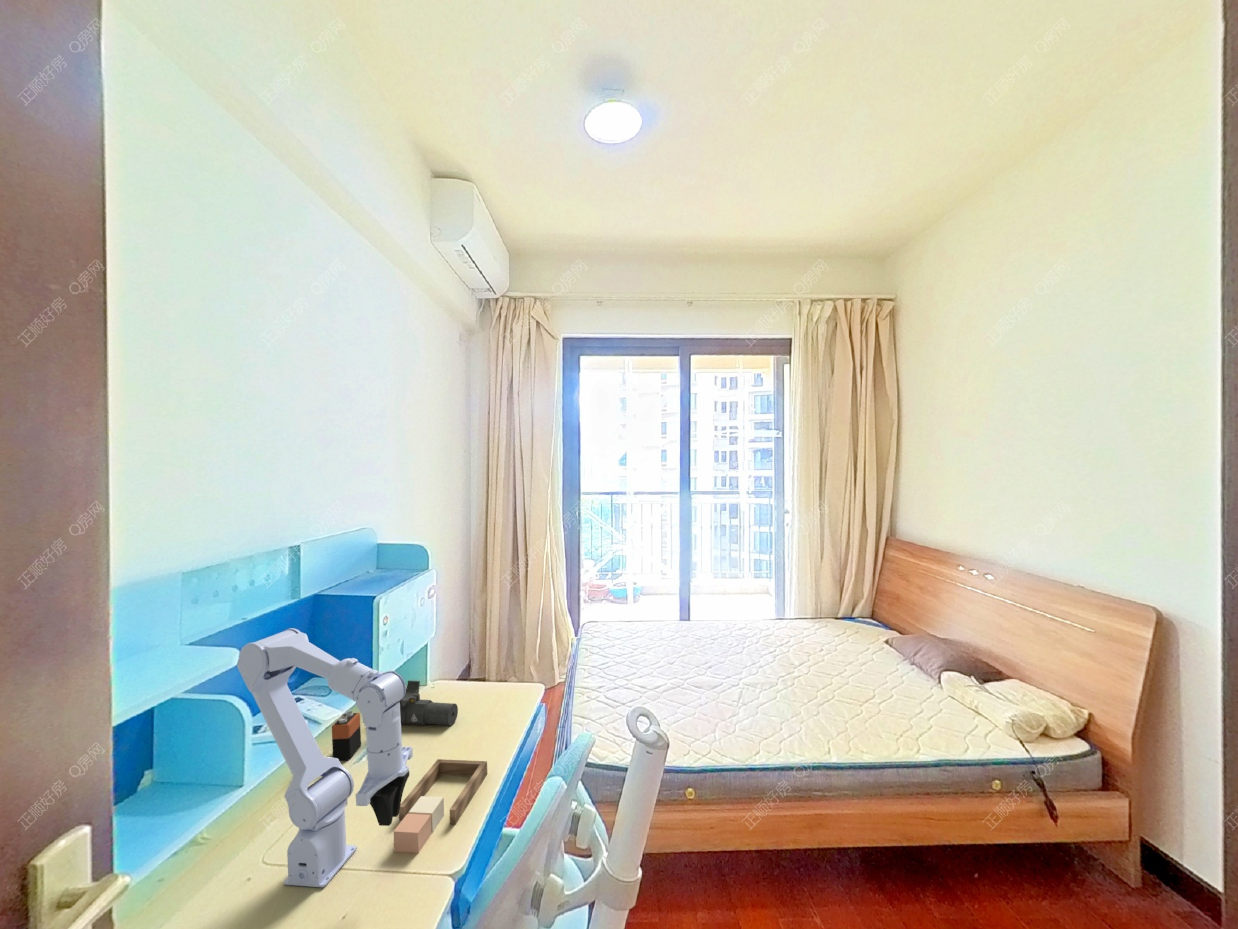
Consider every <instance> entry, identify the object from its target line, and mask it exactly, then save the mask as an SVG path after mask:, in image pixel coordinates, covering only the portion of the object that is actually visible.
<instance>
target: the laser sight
mask: <svg viewBox="0 0 1238 929" xmlns="http://www.w3.org/2000/svg"><path fill="white" fill-rule="evenodd" d="M420 683H421V681H420V680H407V685H406V693H405V695H404V697H403V698H402V699H401V700H400V701H399V702H400V718H401V725H411V726H412V725H414V726H427V725H429V724H430V725H444V726H454V724H455V722H456V721H457V718H458V713H459V708H458V704H456V703H449V702H447V703H446V702H434V701H432V700H431V699H421V696H420V686H421V684H420ZM399 702H398V703H399ZM396 704H397V703H396Z"/></svg>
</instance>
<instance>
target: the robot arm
mask: <svg viewBox="0 0 1238 929" xmlns="http://www.w3.org/2000/svg"><path fill="white" fill-rule="evenodd" d="M309 641H310V640H309V637H308V635H307V633H304V632H301V631H300V630H299V629H297V628H294V627H293V628H291V627H290V628H287V629H285V630H283V631H281V632H278V633H275V634H273V635H270V636H267V637H265V638H262V639H259V640H256V641H254V642H248V643H246V644H245V645H244V646H242V648H241V650H240V652H239V655H238V658H239V659H237V663H236V667H237V669H238V671H239V674H240V675H241V677H242V680H243V681H244V683H245V685H246V688H247V689H248V691H249V692H250V693H251V694H252V696H253V699H254V701H255V703H256V705H257V706H258V708H259V710H260V713H261V714H262V717H263V718H264V720H265V723H266V725H267V727H268V729H269V731H270V733H271V735H272V737H273V739H274V741H275V742H276V745H277V747H278V748H279V751H280V753H281V755H282V758H283V759H284V761H285V763H286V765H287V767H288V768H289V771H290V773H291V775H292V777H291V781H290V782H289V784H288V787H287V788H286V790H285V792H284V799H285V801H286V803H287V807H288V815H289V819H290V821H291V822H292V824H293V825H294V826H295V827H297V828H298V831H297V833H296V835H295V836H294V837H293V839H292V841H291V842H290V843H289V845H288V846H287V850H286V852H287V853H286V855H287V856H286V857H287V876H288V877H287V878H285V880H284V881H283V883H284V885H286V886H297V887H298V886H300V887H312V888H313V887H314V888H325V887H326V886H327V884H328V883H329V882H330V881H331V880H332V879H333V878H334V877H335V876H336V875H337V873H338V872H339V871H340V870H341V869H342V867H343V866H344V864H346V863H347V861H348V860H349V859H350V858H351V856H352V855H353V854H354V853H355V851H356V850H357V849H358V848H357V847H358V846H357V845H352V844H351V845H350V844H347V834H346V833H347V832H346V828H347V827H346V811H345V810H346V807H347V806H348V803H349V802H348V799H349V798H350V796H352V794H353V793H354V787H355V784H354V779H353V777H352V774H351V773H350V772H349V771H348V770H347V769H346V768H345V767H344V766H343V765H342V763H341V760H340V761H339V759H337V758H333V757H331V756H325V755H323V753H322V751H321V748H320V746H319V745H318V742H317V741H316V738H315V737H314V735H313V733H312V731H311V729H310V727H309V725H308V723H307V721H306V719H305V716H303V713H302V712H301V710H300V707H299V706H298V703H297V702H296V700H295V698H294V696H293V694H292V691H291V689H290V688H289V686H288V683H289V682H288V681H289V679H290V676H291V675H292V674H293V672H294V671H295V670H296V668H299V669H302V670H304V671H306V672H309V673H311V674H314V675H316V676H319V677H321V678H324V679H326V680H327V686H328V688H329V689H330V690H332V691H333V692H336V693H337V694H340V695H341V696H343V697H345V698H348V699H349V700H352V701H354V702H355V704H356V707H357V708H356V709H358V711H359V713H360V715H361V716H362V723H363V724H364V727H365V736H366V737H365V738H366V755H367V770H368V771H367V773H366V775H365V777H364V780H363V782H362V784H361V786H360V788H359V789H358V791H357V792H356V793H355V806H356V807H368V806H369V805H370V806H371V808H372V811H373V812H374V814H375V817H376V821H377V822H378V825H379V826H381V827H386V826H387V827H389V826H391V825H392V823H393V818H397V817H399V810H400V805H401V803H402V799H403V794H404V790H405V787H406V783H407V781H408V779H409V778H410V767H409V765H406V764H407V762H408V760H409V761H410V760H411V759H412V758H413V756H414V755H413V746H403V741H402V739H403V738H402V735H403V734H402V724H401V718H400V702H399V701H400V700H401V699H402V698H403V697H404V695H405V693H406V688H407V685H406V681H405V679H404V678H403V677H402V676H401V674H399V673H398V672H396V671H395V670H387V671H384V672H383V671H379V670H376V669H373V668H371V667H369V666H366V665H365V664H362V663H361V662H359V660H358V659H357V658H354V657H352V658H349V657H348V658H344V659H342V660H339V659H337V658H336V657H334V656H333V655H331V654H329V653H328V652H326V651H324V650H323V649H321V648H319V647H318V646H316V645H315V644H313V643H311V642H309ZM398 702H399V703H398ZM396 703H397V704H396ZM319 777H320V778H319ZM318 778H319V779H318ZM314 780H316V781H314ZM313 781H314V782H313ZM312 782H313V783H312ZM311 783H312V784H311ZM310 784H311V785H310Z"/></svg>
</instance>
